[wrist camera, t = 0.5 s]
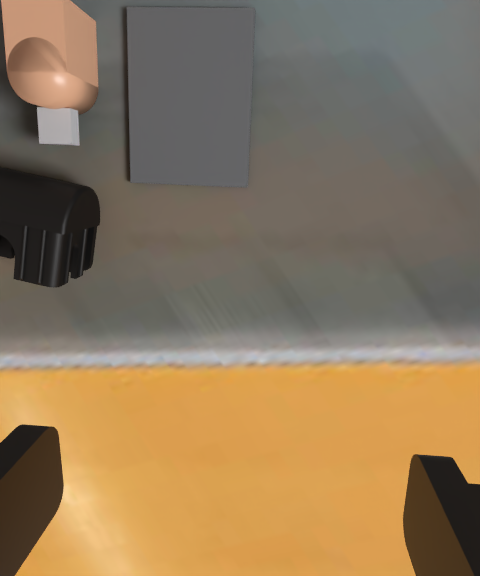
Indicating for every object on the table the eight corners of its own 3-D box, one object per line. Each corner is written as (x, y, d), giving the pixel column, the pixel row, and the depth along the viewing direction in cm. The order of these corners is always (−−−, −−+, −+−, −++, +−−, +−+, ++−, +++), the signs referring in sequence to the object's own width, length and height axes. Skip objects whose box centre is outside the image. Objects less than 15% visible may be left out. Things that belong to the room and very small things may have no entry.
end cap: (108, 185, 35) (68, 187, 28) (97, 271, 37) (57, 292, 30) (-13, 158, 35) (-80, 155, 29) (-18, 245, 37) (-82, 260, 31)
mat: (129, 9, 32) (126, 6, 31) (255, 10, 31) (254, 7, 30) (132, 182, 35) (130, 182, 34) (247, 187, 34) (247, 187, 33)
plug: (42, 20, 32) (0, -6, 28) (95, 21, 32) (62, -6, 27) (50, 145, 35) (12, 141, 30) (100, 147, 34) (70, 143, 29)
